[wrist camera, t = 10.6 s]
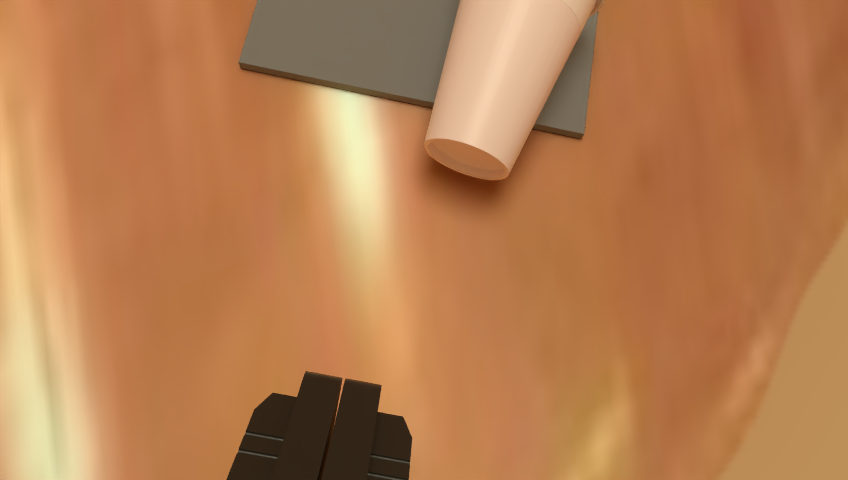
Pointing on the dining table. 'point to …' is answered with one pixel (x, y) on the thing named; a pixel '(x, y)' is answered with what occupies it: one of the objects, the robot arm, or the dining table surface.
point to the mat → (391, 52)
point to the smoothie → (500, 79)
